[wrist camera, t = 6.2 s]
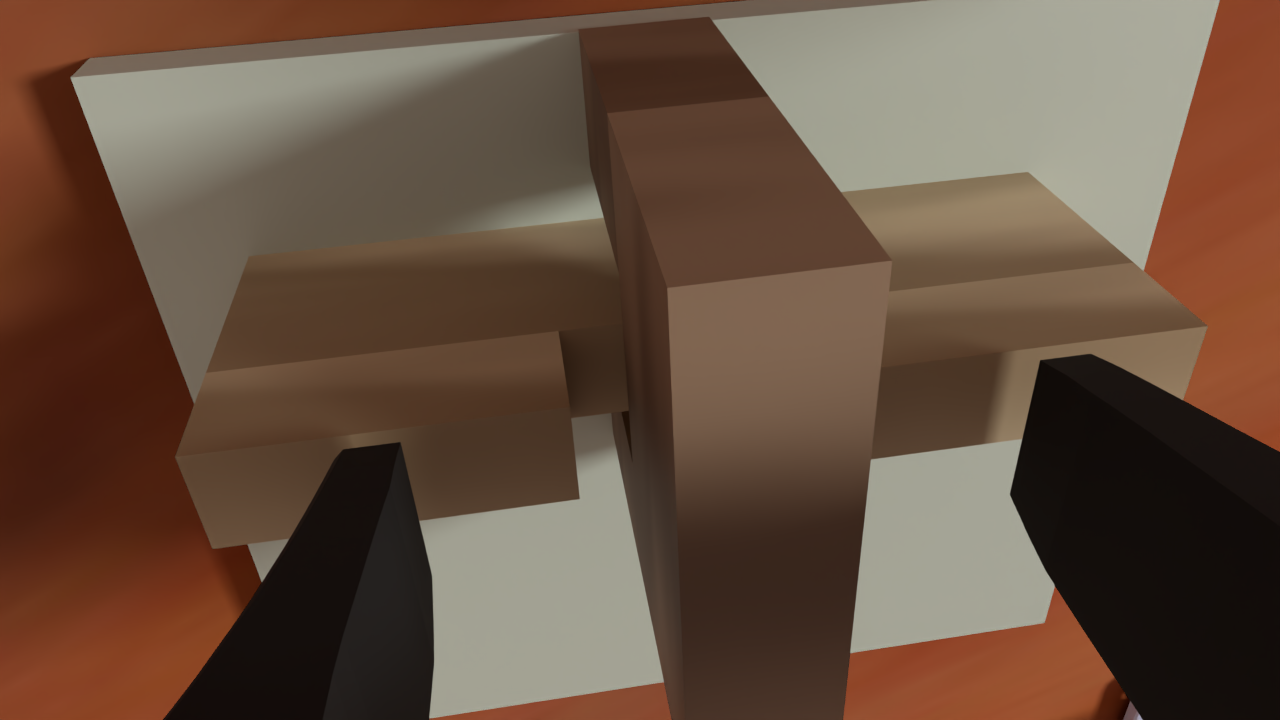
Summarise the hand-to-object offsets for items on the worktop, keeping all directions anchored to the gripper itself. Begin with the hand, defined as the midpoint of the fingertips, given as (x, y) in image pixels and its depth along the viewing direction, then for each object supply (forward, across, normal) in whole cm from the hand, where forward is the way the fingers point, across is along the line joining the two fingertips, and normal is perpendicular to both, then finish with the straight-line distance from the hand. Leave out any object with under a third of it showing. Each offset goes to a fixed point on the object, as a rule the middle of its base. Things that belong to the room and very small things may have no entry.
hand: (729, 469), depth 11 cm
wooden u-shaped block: (+5, 0, 0) cm, 5 cm away
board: (+6, 0, +4) cm, 7 cm away
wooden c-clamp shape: (+5, 0, 0) cm, 5 cm away
